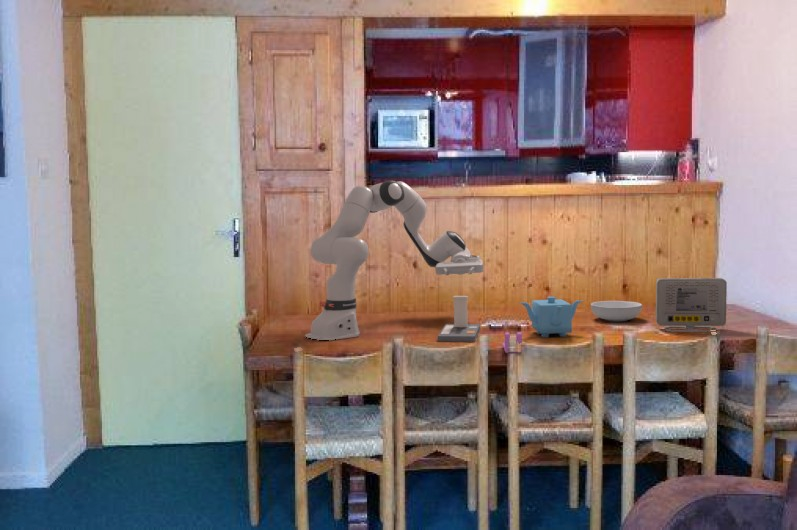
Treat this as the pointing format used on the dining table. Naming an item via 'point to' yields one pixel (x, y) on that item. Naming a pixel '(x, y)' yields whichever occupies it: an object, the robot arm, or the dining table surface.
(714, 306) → the network device
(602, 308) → the serving bowl
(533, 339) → the dining table surface
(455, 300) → the switch tab
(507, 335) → the bracket
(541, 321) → the teakettle
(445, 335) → the switch panel
